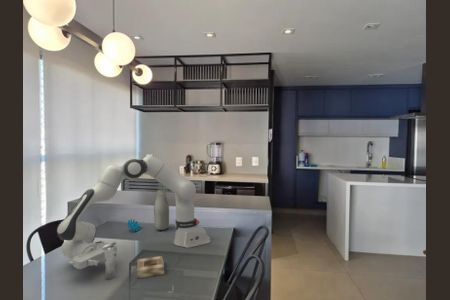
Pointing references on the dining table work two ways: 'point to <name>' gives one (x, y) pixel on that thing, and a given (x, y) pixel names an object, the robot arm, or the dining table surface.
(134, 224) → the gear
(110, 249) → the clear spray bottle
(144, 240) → the dining table surface
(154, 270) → the socket block
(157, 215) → the glass bottle
